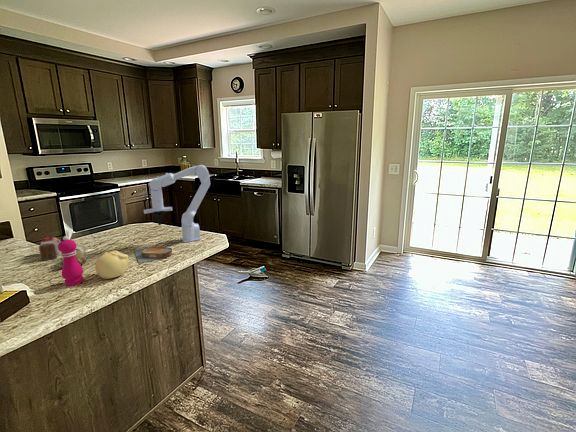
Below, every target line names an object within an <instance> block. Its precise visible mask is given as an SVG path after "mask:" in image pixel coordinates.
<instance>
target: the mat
mask: <svg viewBox="0 0 576 432" xmlns="http://www.w3.org/2000/svg"><path fill="white" fill-rule="evenodd" d="M153 247H156V246H153ZM145 248H146V247H144V248H140V249H134V250H133V251H134V253H135V256H136V260H137V263H138V264H143V263H149V262H153V261H157V260H162V259H163V258H146V257H143V256H142V253H141V250H143V249H145Z"/></svg>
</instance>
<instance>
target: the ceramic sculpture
mask: <svg viewBox="0 0 576 432" xmlns="http://www.w3.org/2000/svg"><path fill="white" fill-rule="evenodd" d="M76 245H77V246H76V249H75V250H76V259H77V261H78V263H79V264H80V265H84V264H85V263H86V262H87V257H86V254H87V252H86V250H85V249H84V248H83V247H82V246H80V245H78V244H77V243H76ZM63 265H64V259H63V258H62V259H61V260H59V262H58V268H63Z"/></svg>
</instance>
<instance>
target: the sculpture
mask: <svg viewBox="0 0 576 432" xmlns="http://www.w3.org/2000/svg"><path fill="white" fill-rule="evenodd" d="M129 262H130V260H129V255H128V254H125V253H123V252H120V251H118V250H112V251H111V250H110V251H105V252H104V253H102V255H100V256H99V257H98V258H97V260H96V261H95V267H94V268H95V272H96V274H97V275H98V276H99V277H100V278H102V279H105V280H106V279H107V280H108V279H113V278H117V277H120V276H123V275H124V274H125V272H126V271H127V269H128V266H129V264H130V263H129Z"/></svg>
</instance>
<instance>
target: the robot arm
mask: <svg viewBox="0 0 576 432" xmlns="http://www.w3.org/2000/svg"><path fill="white" fill-rule="evenodd" d="M187 176H196V177H198V178H199V181H200V183H201V184H200V185H199V187H198V189H197V191H196V193H195V195H194V196H193V198H192V200H191V201H190V202H191V203H190V205H189V206H188V207H187V208H186V211H185V212H183V214H182V215H181V221H180V222H181V235H182V237H181V238H180V239H181V240H182V242H183V243H188V242H194V241H200V240H201V231H200V229H201V228H200V225H199V223H195V222H194V218H195V215H196V213H197V210H198V209H199V207H200V205H201V203H202V201H203V199H204V197H205V196H206V193H207V192H208V189H209V188H210V187H211V179H210V172H209V170H208V168H207V166H206V165H204V164H198V165H193V166H191V167H188V168H185V169H183V170H181V171H178V172H176V173H172V172H169V173H168V172H165V174H164V175H161V176H159V175H158V176H156V178H153V179H152V180H150V181H149V183H148V184H149V188H150V196H151V197H150V198H151V207H152V208H147V209H143V214H144V215H146V214H147V215H148V214H152V213H153V216H154V217H155V218H156V221H157V225H158V226H162V223H163V219H164V215H165V212H172V211H173V206H165V205H164V198H163V190H162V187H163V188H165V187H168V186H170V185H172V184H174V183H176V181H177V180H178V179H181V178H184V177H187Z"/></svg>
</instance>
